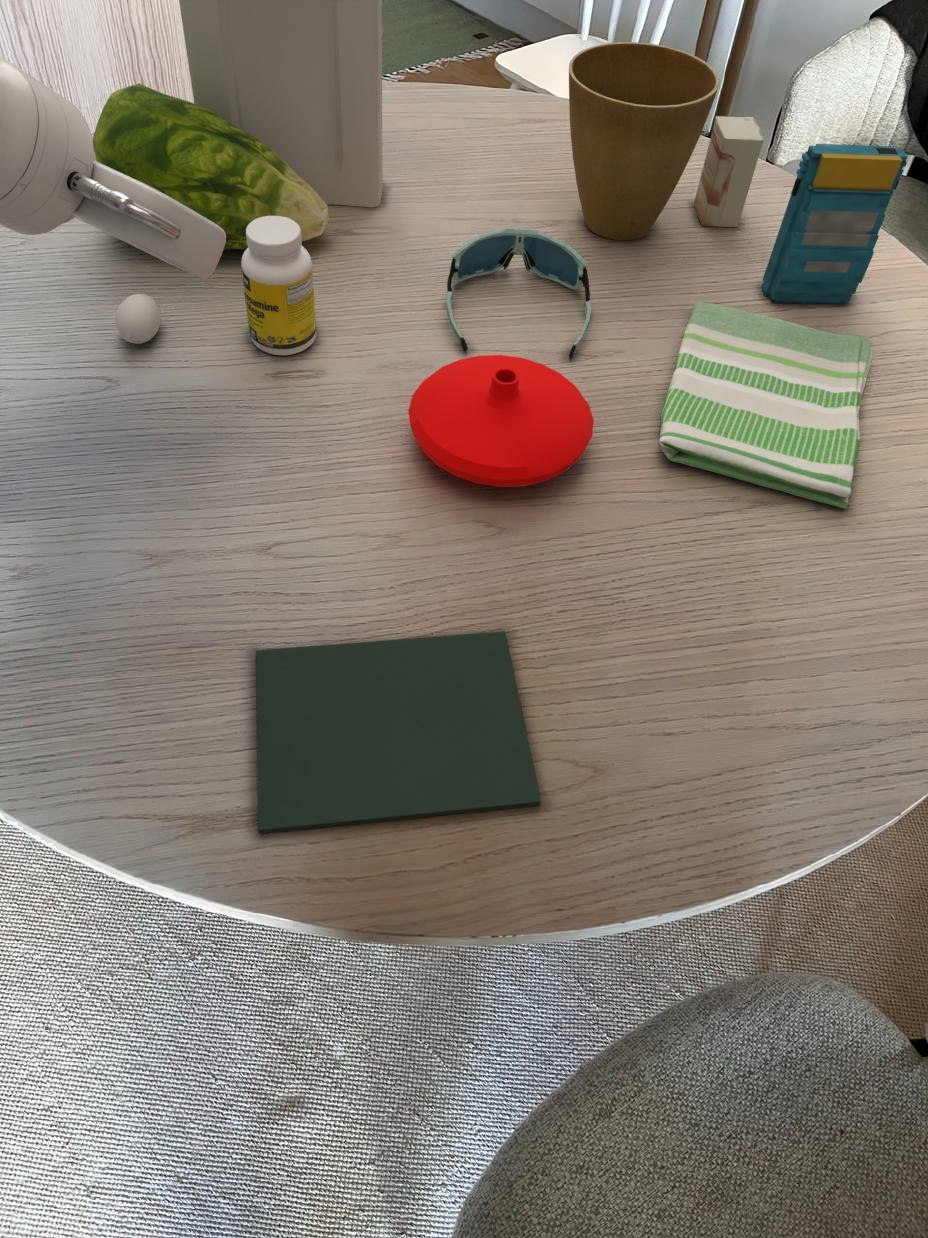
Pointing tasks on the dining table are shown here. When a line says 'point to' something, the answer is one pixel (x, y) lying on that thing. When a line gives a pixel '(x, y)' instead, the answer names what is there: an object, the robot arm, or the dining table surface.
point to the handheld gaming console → (832, 222)
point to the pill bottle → (278, 286)
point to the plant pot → (634, 130)
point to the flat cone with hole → (500, 420)
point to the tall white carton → (297, 84)
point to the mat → (389, 732)
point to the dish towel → (767, 402)
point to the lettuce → (203, 163)
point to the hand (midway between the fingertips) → (162, 234)
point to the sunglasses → (538, 255)
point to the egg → (138, 318)
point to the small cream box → (728, 170)
